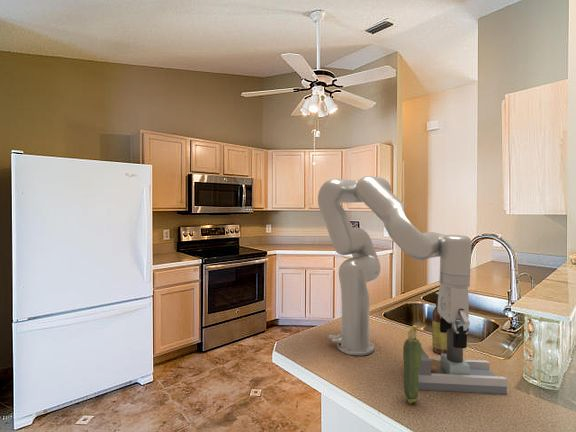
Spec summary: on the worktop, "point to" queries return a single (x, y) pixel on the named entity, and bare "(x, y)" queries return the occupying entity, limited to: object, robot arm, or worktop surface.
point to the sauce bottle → (438, 332)
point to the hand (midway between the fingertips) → (452, 339)
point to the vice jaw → (454, 358)
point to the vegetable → (411, 364)
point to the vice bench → (461, 378)
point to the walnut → (435, 366)
